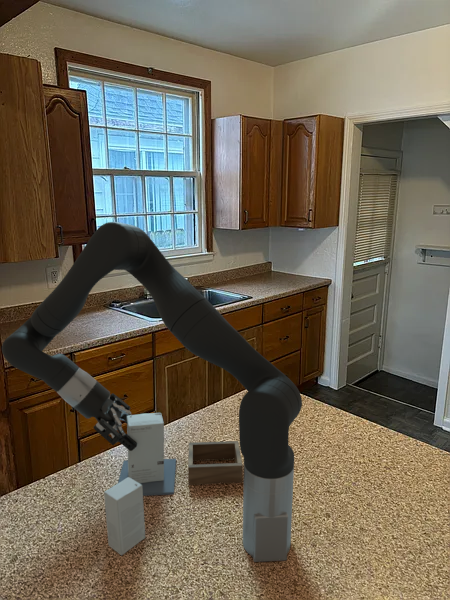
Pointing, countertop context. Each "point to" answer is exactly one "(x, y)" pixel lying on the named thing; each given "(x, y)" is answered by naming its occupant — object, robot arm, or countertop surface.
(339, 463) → the countertop surface
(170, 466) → the slate mat
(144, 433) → the skincare box
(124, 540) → the skincare box
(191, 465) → the holder collar
